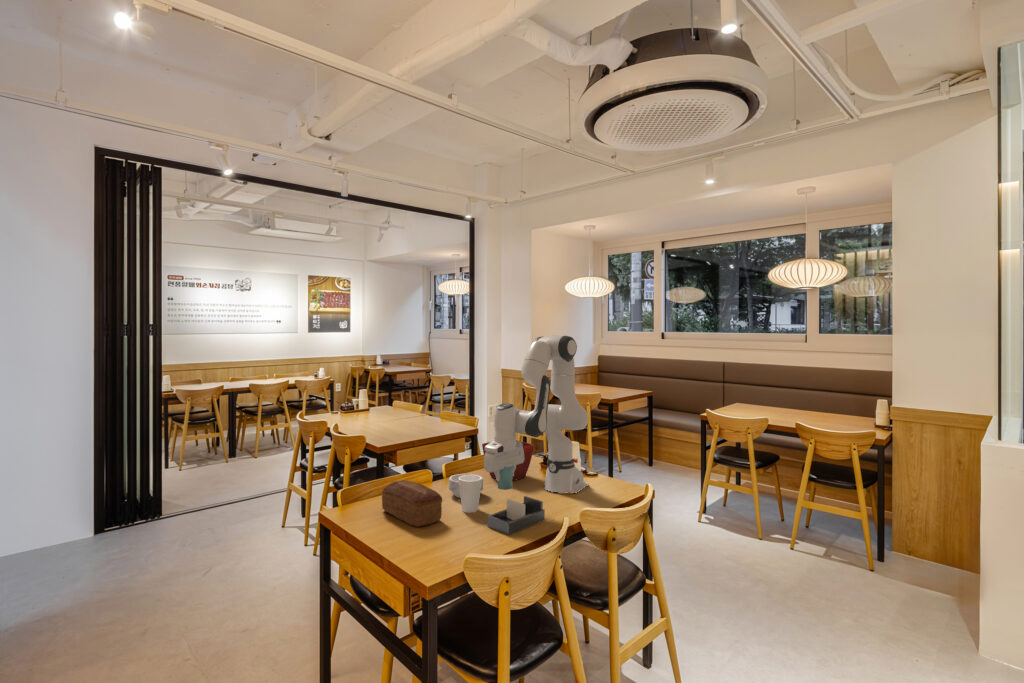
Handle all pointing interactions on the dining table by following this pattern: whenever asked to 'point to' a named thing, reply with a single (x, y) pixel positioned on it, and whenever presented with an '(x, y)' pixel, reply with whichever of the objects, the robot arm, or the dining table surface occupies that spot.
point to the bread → (412, 503)
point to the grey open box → (509, 526)
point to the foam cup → (470, 492)
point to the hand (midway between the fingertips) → (505, 478)
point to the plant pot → (520, 468)
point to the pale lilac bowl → (455, 484)
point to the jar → (506, 477)
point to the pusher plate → (515, 509)
